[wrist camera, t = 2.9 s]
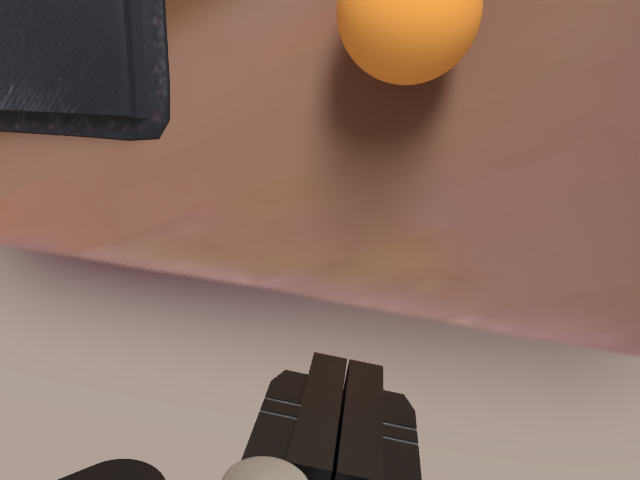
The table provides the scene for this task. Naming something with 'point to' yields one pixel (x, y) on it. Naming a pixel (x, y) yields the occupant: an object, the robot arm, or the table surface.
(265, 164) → the table surface
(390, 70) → the ball
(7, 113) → the wallet
